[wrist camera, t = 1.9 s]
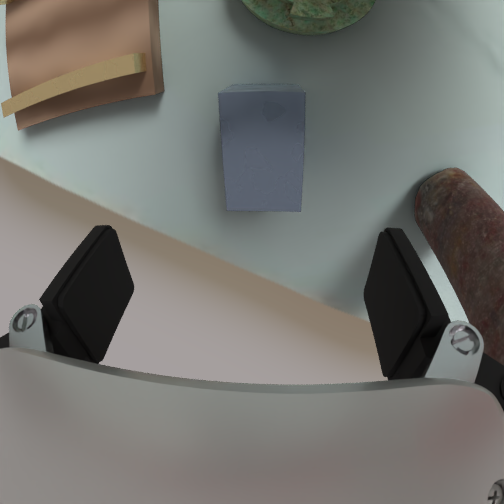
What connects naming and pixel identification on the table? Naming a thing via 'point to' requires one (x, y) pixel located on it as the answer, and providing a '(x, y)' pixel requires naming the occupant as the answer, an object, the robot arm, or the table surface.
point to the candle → (468, 248)
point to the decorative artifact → (309, 14)
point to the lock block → (263, 146)
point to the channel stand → (79, 55)
